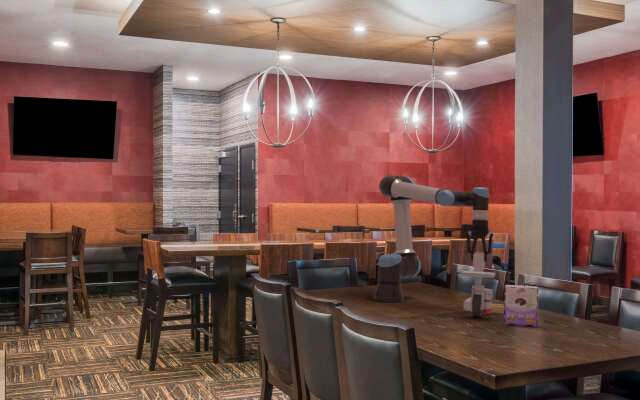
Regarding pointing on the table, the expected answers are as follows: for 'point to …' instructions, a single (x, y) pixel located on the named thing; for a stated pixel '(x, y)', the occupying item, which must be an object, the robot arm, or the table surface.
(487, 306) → the ink box
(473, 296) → the white pedestal stand
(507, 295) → the candy box
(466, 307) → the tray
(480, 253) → the stop pin
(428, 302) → the table surface
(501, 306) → the pin socket
